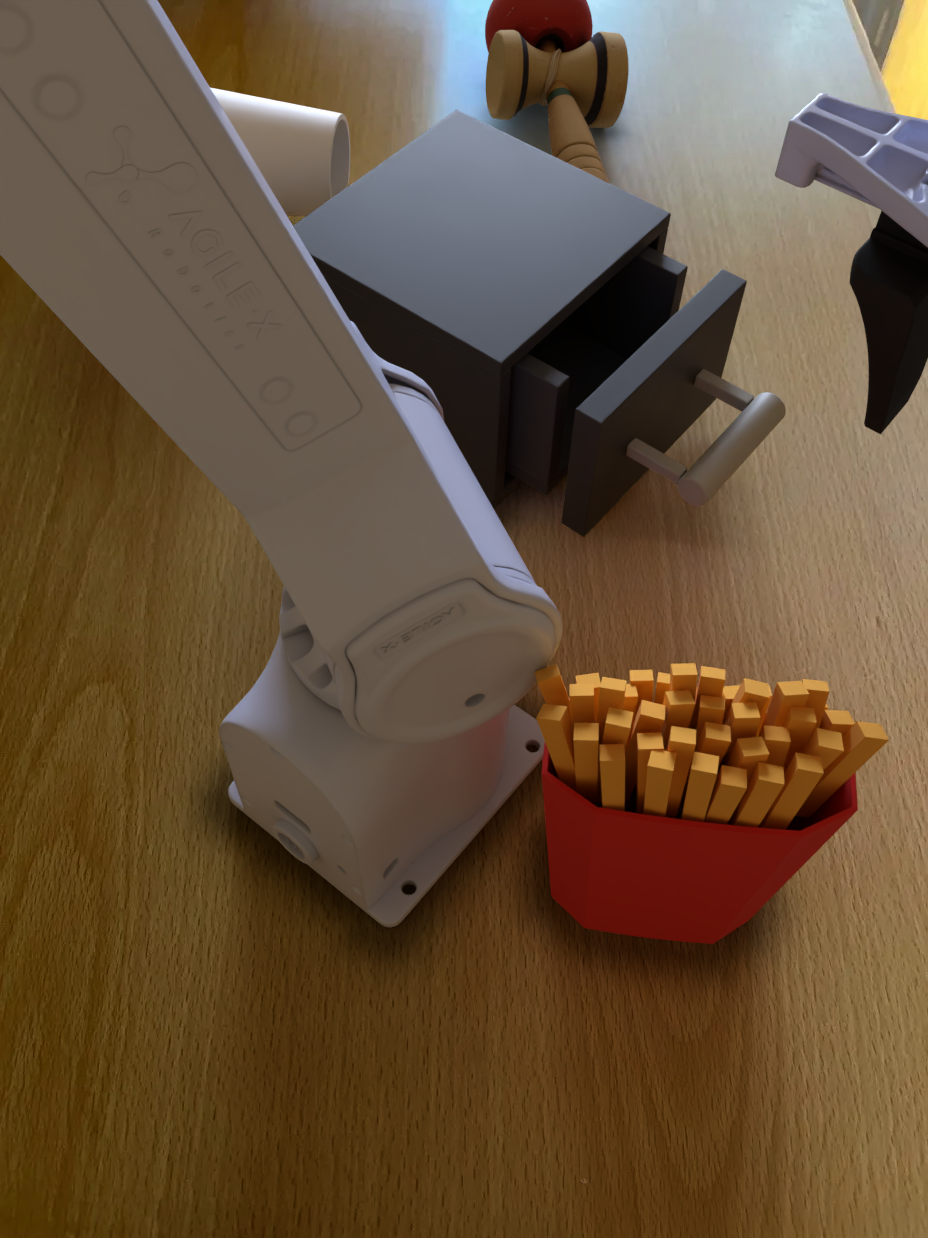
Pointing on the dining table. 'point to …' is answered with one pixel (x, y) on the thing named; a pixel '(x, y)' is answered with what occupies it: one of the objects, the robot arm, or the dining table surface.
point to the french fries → (689, 795)
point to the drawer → (632, 392)
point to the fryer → (473, 265)
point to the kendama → (556, 73)
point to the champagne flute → (292, 148)
